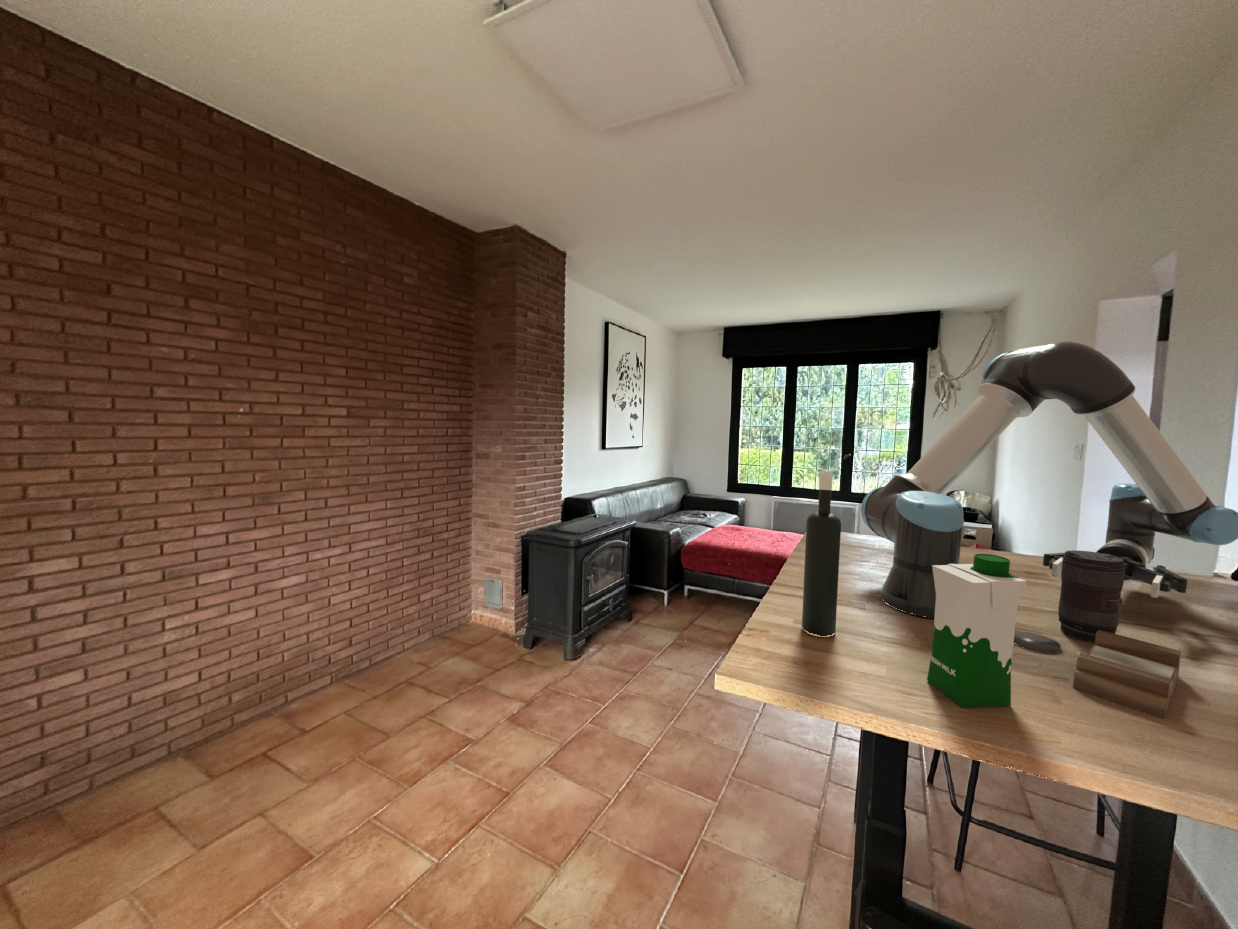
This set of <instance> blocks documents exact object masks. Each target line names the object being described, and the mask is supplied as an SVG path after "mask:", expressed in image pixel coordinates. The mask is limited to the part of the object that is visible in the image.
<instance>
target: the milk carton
mask: <svg viewBox="0 0 1238 929" xmlns="http://www.w3.org/2000/svg"><path fill="white" fill-rule="evenodd" d="M1010 565H1011V560H1010V559H1009V558H1007V557H1004V556H1000V555H996V554H991V553H990V554H989V553H977V554H976V553H975V554H974V555H973V563H959V564H948V565H932V568H933V576H934V583H935V591H936V604H935V618H934V621H933V633H932V647H931V655H930V660H929V661H930V662H929V667H928V672H927V677H926V680H928V683H930V684H931V685H933V686H934V687H935V688H937V689H938V690H939V691H941V692H942V693H943V694H944V695H945V696H947V697H948V698H950V699H951V700H952V701H953V702H954V703H957V704H958V705H959V706H960V707H961V708H963V709H968V708H969V709H971V708H987V707H991V708H992V707H1006V706H1007V707H1008V706H1012V675H1011V674H1012V664H1013V662H1012V661H1013V652H1014V651H1013V650H1014V633H1015V631H1016V621H1017V611H1018V608H1019V604H1020V602H1021V600H1022V597H1023V593H1024V590H1025V588H1026V586H1027V580H1025V579H1023V578H1019V577H1018V576H1016V575H1013V574H1012V573H1011V572H1010V568H1011V566H1010Z"/></svg>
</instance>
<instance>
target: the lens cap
mask: <svg viewBox="0 0 1238 929" xmlns="http://www.w3.org/2000/svg"><path fill="white" fill-rule="evenodd" d="M1014 643H1016V644H1017V645H1016V644H1015V645H1016V646H1018V645H1019V646H1018V647H1020V648H1023V647H1024V648H1023V649H1026V650H1030V651H1032V650H1033V652H1036V653H1037V652H1038V653H1042V654H1059V653H1060V652H1061V651H1060V650H1062V645H1061V644H1060V642H1058V641H1057V640H1056V639H1055V640H1054V639H1053V638H1050V637H1047V636H1045V635H1041V634H1038V633H1036V632H1035V633H1033V632H1031V631H1030V632H1029V631H1023V630H1015V633H1014ZM1014 643H1013V644H1014Z"/></svg>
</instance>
